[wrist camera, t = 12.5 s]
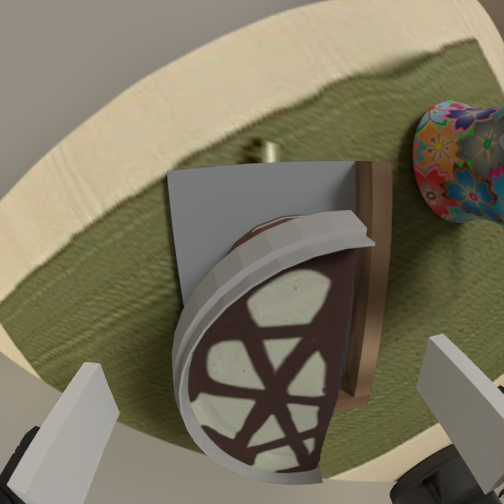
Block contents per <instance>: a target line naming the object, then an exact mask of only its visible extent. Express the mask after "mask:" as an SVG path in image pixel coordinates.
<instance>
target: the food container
mask: <svg viewBox="0 0 504 504" xmlns="http://www.w3.org/2000/svg"><path fill="white" fill-rule="evenodd" d="M366 233H367V227H366V226H365V225H364V224H363V223H362V222H361V221H360V220H359V218H358V217H357V216H356V215H355V214H354V213H353V212H352V211H351V210H344V211H330V212H321V213H317V214H313V215H308V216H304V215H290V216H281V217H278V218H275V219H273V220H270V221H267V222H265V223H262V224H259V225H257V226H255V227H254V228H253V229H251V230H250V231H249V232H248V233H246V234H245V235H244V236H243V237H241V238H240V239H239V240H238V241H236V242H235V244H234V245H233V247H232V248H231V250H230V251H229V253H228V254H227V256H226V257H225V258H224V259H222V260H221V261H220V262H219V263H218V264H217V265H215V266H214V267H213V268H212V269H211V271H210V272H209V273H208V274H207V275H206V276H205V278H204V279H203V280H202V281H201V282H200V284H199V285H198V286H197V287H196V288H195V290H194V292H193V293H192V295H191V297H190V298H189V300H188V302H187V304H186V305H185V307H184V309H183V311H182V313H181V316H180V319H179V322H178V325H177V328H176V330H175V333H174V341H173V348H172V369H173V383H174V394H175V400H176V403H177V406H178V409H179V412H180V415H181V417H182V419H183V420H184V423H185V426H186V429H187V430H188V432H189V433H190V435H191V437H192V438H193V440H194V442H195V443H196V444H197V445H198V446H199V447H200V448H201V449H202V450H203V451H204V453H205V454H206V455H208V456H209V457H210V458H212V459H213V460H214V461H216V462H217V463H218V464H220V465H221V466H223V467H225V468H227V469H229V470H231V471H233V472H235V473H237V474H240V475H243V476H245V477H248V478H251V479H255V480H259V481H264V482H269V483H277V484H288V485H289V484H290V485H292V484H294V485H298V484H315V483H322V477H321V472H320V467H319V461H320V454H321V449H322V446H323V442H324V439H325V435H326V432H327V429H328V426H329V423H330V420H331V417H332V415H333V412H334V409H335V405H336V402H337V399H338V395H339V389H340V383H341V376H342V368H343V360H344V353H345V346H346V338H347V330H348V323H349V316H350V309H351V301H352V294H353V286H354V277H355V268H356V258H357V248H359V247H369V246H375V242H374V241H372V240H371V239H370V238H369V237H367V236H366Z"/></svg>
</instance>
